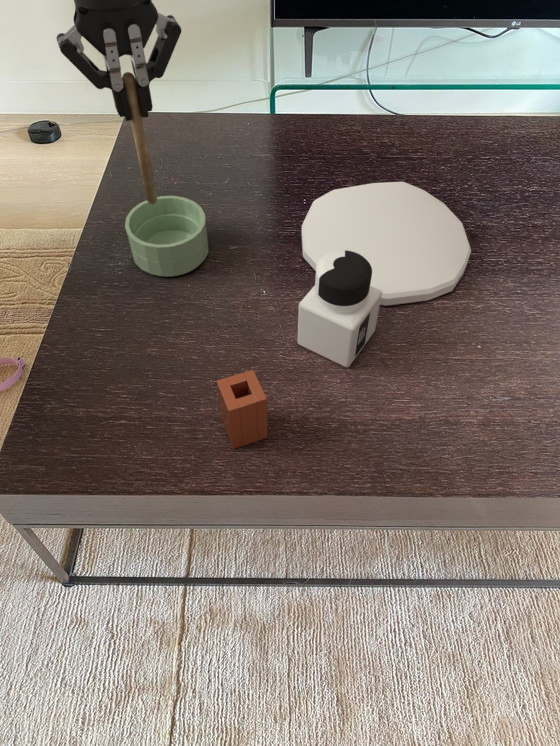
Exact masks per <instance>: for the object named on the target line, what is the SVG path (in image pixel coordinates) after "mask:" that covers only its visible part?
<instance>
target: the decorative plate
mask: <svg viewBox="0 0 560 746" xmlns="http://www.w3.org/2000/svg"><path fill="white" fill-rule="evenodd" d="M300 232H301V248H302V258H303V259H304V260H305V261H306V262H307V264H309V266H311V268H312V269H313V270H314V271H315V272H316V266H317V263H318V262H319V260H320V259H321V258H322V257H323V256H325V255H326V254H328V253H330V252H333V251H339V250H347V251H352V252H355V253H358V254H360V255H361V256H363V257H364V258H365V259H366V260H367V261H368V262H369V263H370V265H371V267H372V277H371V283H370V286H372V287H374V288H377V289H379V290H381V291H382V296H381V301H380V306H381V305H382V306H386V307H387V306H394V305H401V304H409V303H410V304H411V303H418V302H427V301H430V300H433V299H435V298H437V297H440V296H442V295H445V294H448V293H451V292H453V291H454V289H455V288H456V286H457V284H458V283H459V282H460V280H461V278H462V277H463V275H464V273H465V271H466V268H467V265H468V262H469V260H470V257H471V253H472V248H471V245H470V242H469V240H468V235H467V233H466V230H465V227H464V224H463V222H462V221H461V220H460V219H459V218H458V216H456V215H455V214H454V212H453V211H451V209H450V208H449V207H448V206H447V205H446V204H445V203H444V202H443V201H441V200H440V199H438V198H436V197H435V196H434V195H432V194H430V193H429V192H428V191H426V190H424V189H422V188H420V187H417V186H415V185H412V184H410V183H408V182H405V181H389V182H372V183H366V184H360V185H354V186H347V187H342V188H336V189H333V190H330V191H329V192H327V193H325V194H323V195H321V196H319V197H318V198H316V199H315V200H314V201H312V203H311V205H310V208H309V210H308V212H307V213H306V216H305V217H304V220H303V222H302V224H301V231H300Z"/></svg>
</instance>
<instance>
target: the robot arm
mask: <svg viewBox="0 0 560 746" xmlns="http://www.w3.org/2000/svg"><path fill="white" fill-rule="evenodd" d="M73 2H74V13H73V24H74V25H73V26H71V27H70V29H68V30H67V32H65V33H64V32H60V33H58V34H57V35H56V42H57V45H58V48H59V50H60V53H61V55H63V56H64V57H65V58H66V59H67V60H68V61H69V62H70V63H71V64H72V65H73V66H74V67H75V68H76V69H77V70H78V71H79V72H80V73H81V74H82V75H83V76H84V77H85V78H86V79H87V81H89V82H90V83H91V84H92V85H93V86H94V87H95V89H97V90H103V89H104V88H105V89H109V90H111V94H112V98H113V103H114V108H115V110H116V113H117V114H118V115H119V117H120V118H124V120H125V122H131V120H132V117H131V112H130V107H129V102H128V97H127V92H126V89H125V87H124V86H123V81H122V76H123V75H122V68H121V67H122V66H121V62H120V58H121V57H123V56H129V59H130V64H131V68H132V72H133V73H132V74H133V75H134V77H135V81H136V88H137V93H138V99H139V104H140V109H141V115H142V119H144V118H149V117H150V116H149V112H153V106H154V105H153V99H152V95H151V89H150V84H151V82H152V81H153V80H154V79H161V78H162V77H163V76H164V74H165V72H166V70H167V67H168V65H169V64H170V60H171V58H172V56H173V53H174V51H175V48H176V46H177V44H178V41H179V39H180V36H181V34H182V27H181V25H180V24H179V22H178V21H177V20H176V18H175V16H174V15H171V14H169V15H164V14H162V13H160V12H158V9H157V7H156V6H155V4H154V2H153V0H73ZM155 27H156V28H155ZM154 29H155V33H156V34H157V38H156V40H155V42H154V45H153V47H152V51H151V53H150V56H149V57H148V61H146V55H145V51H144V49H145V48H146V46H147V44H148V41H149V40H150V37H151V35H152V33H153V31H154ZM82 37H83V38H84V40H85V41H87V42H88V44H90V45H91V46H92V47H93V48H94V49H95V50H96V51H97V52H98V53H99V54H101V55H102V57H103V60H104V65H105V70H102V69H100V68H99V67H98V66H97V65H96V64H95V63H94V62H93V61H92V60H91V58H89V56H87V55H86V54H85V53H84V50H85V47H84V44H83V42H82Z"/></svg>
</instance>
